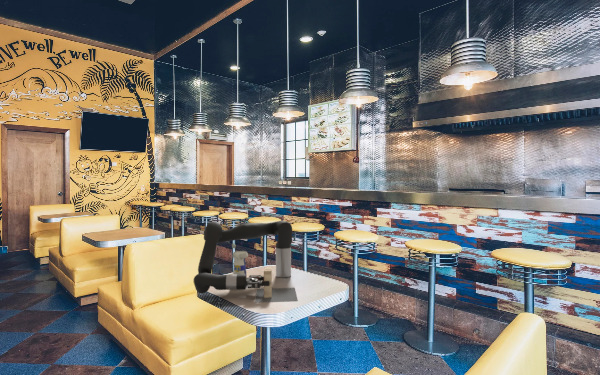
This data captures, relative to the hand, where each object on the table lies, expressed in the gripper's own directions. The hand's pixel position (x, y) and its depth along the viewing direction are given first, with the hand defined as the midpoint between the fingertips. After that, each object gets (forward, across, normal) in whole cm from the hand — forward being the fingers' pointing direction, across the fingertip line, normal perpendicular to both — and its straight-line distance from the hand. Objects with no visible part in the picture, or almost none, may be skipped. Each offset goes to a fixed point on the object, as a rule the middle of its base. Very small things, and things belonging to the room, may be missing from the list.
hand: (269, 280), depth 163 cm
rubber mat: (+3, +1, +8) cm, 8 cm away
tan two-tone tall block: (-1, 0, +7) cm, 7 cm away
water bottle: (-16, +15, +8) cm, 23 cm away
